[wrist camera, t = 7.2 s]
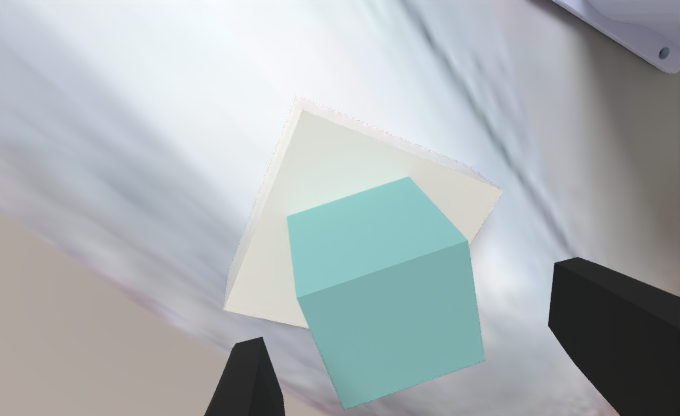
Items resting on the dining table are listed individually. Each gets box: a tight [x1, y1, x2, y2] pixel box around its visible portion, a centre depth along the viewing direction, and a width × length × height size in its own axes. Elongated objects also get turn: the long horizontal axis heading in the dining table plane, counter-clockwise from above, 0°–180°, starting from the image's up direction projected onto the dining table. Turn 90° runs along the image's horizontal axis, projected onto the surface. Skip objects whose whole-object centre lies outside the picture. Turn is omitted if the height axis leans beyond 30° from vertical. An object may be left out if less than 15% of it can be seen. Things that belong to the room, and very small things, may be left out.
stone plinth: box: [224, 95, 503, 328], centre depth 18 cm, size 9×9×3 cm
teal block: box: [287, 176, 485, 410], centre depth 14 cm, size 5×5×5 cm
